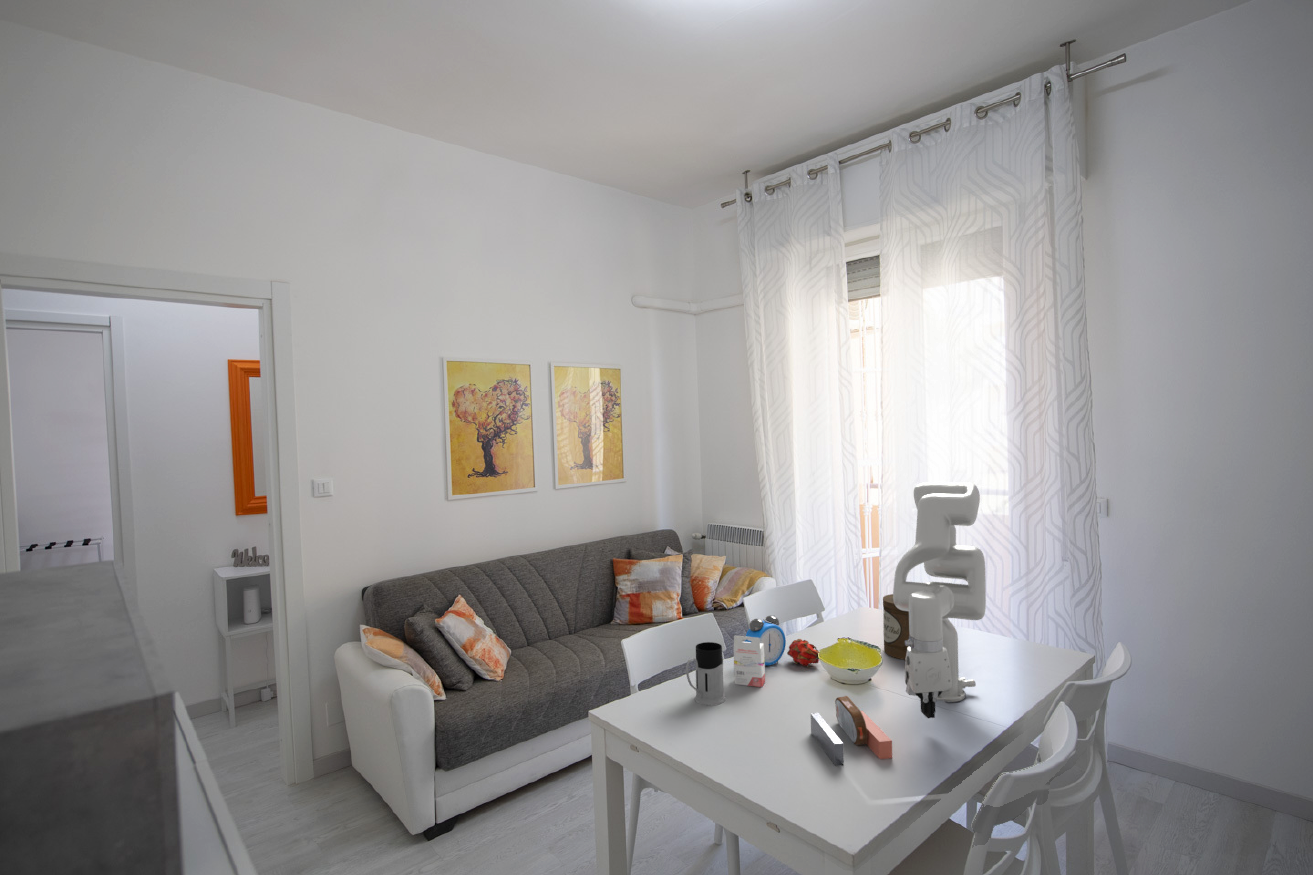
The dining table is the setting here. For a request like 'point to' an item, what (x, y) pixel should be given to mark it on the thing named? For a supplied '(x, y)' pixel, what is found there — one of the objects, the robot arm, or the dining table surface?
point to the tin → (851, 720)
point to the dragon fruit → (803, 652)
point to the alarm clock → (768, 638)
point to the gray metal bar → (827, 739)
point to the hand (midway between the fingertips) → (928, 715)
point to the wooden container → (895, 628)
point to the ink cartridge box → (749, 661)
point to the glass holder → (708, 674)
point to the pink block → (877, 739)
